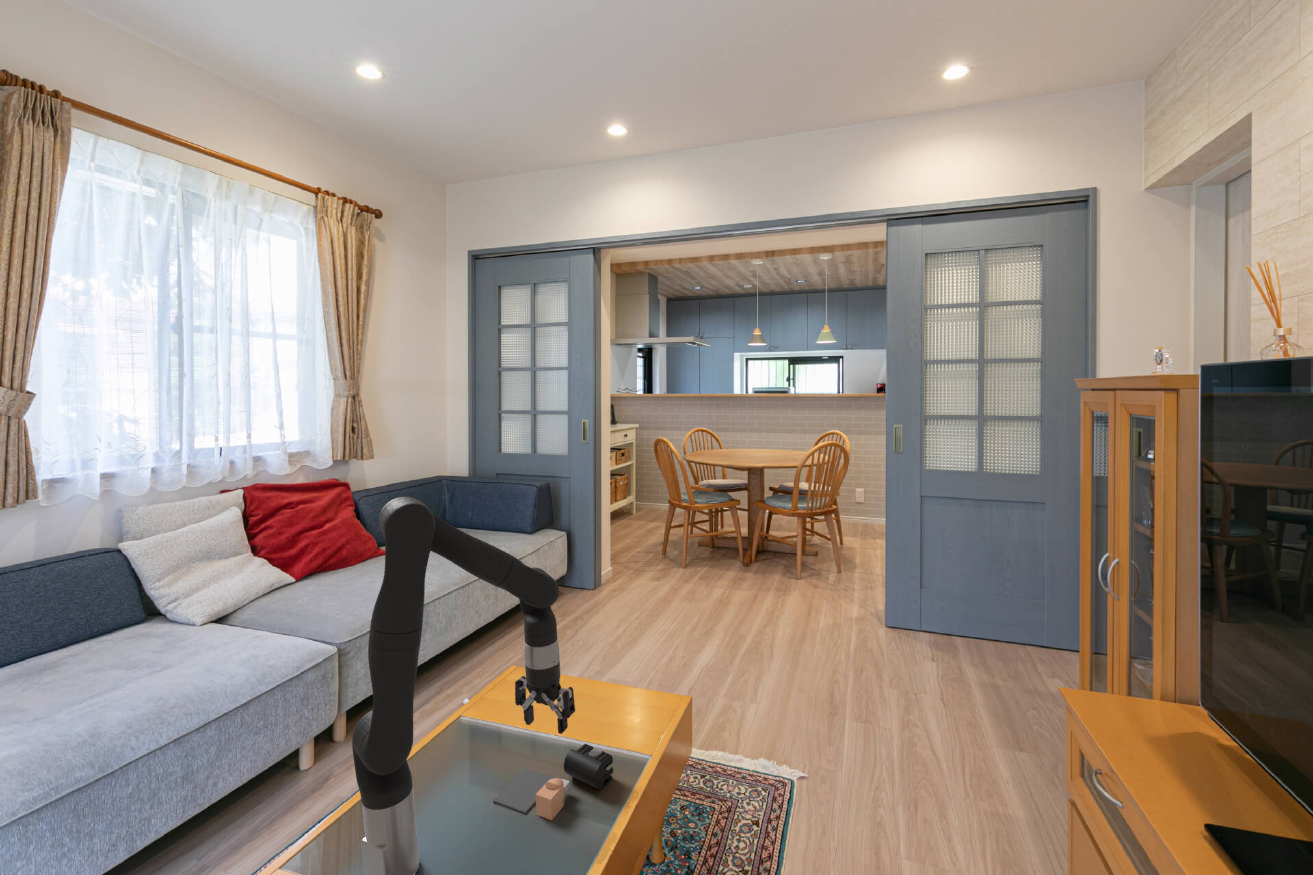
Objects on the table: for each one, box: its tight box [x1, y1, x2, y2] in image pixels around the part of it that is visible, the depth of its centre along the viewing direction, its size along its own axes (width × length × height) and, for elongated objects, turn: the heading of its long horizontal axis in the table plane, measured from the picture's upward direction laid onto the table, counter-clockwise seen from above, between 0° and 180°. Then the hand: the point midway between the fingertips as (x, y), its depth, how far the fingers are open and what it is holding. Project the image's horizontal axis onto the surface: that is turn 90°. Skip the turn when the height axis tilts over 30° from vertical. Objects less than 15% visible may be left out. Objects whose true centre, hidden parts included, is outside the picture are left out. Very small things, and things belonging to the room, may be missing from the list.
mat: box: [492, 767, 556, 815], centre depth 145 cm, size 12×9×1 cm
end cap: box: [563, 743, 614, 791], centre depth 147 cm, size 10×7×7 cm
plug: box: [535, 777, 571, 821], centre depth 140 cm, size 9×4×5 cm, turn 155°
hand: (546, 727), depth 138 cm, fingers open, 8 cm apart
